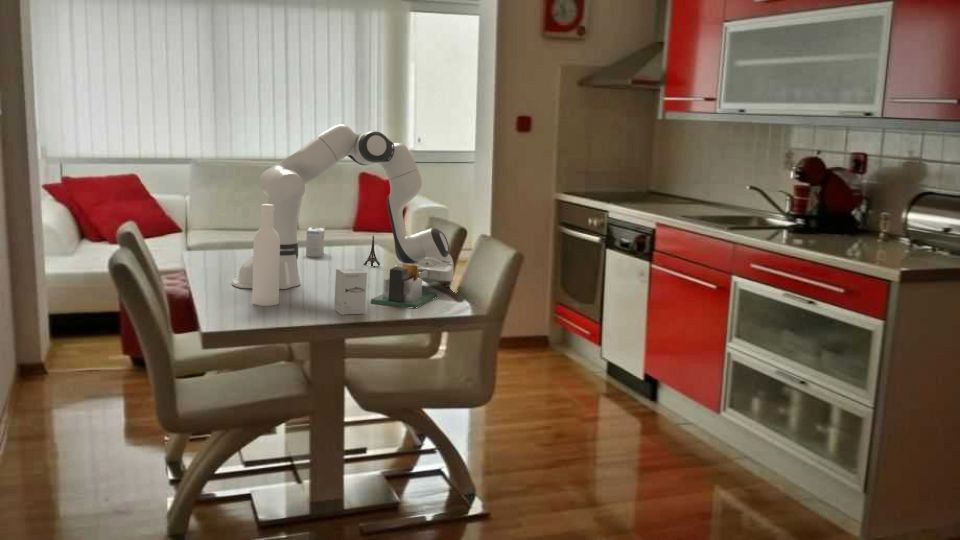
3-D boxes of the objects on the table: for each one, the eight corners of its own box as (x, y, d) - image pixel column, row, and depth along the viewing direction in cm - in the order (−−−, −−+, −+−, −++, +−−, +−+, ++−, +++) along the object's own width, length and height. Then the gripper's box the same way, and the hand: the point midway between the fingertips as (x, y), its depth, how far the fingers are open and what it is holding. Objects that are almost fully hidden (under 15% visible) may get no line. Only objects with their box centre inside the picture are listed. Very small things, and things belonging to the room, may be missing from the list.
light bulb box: (307, 252, 363) (308, 226, 361) (324, 253, 363) (324, 227, 362) (305, 256, 352) (306, 230, 350) (322, 257, 353) (323, 230, 351)
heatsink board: (395, 291, 290) (396, 259, 289) (437, 296, 286) (439, 263, 285) (370, 302, 270) (372, 267, 269) (415, 308, 267) (417, 272, 265)
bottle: (254, 306, 255) (256, 205, 250) (249, 301, 262) (251, 202, 257) (281, 305, 258) (283, 206, 253) (276, 300, 265) (278, 203, 260)
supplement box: (341, 315, 251) (343, 272, 249) (333, 310, 257) (335, 268, 255) (365, 314, 254) (367, 272, 252) (357, 309, 261) (359, 268, 259)
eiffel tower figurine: (386, 270, 333) (387, 236, 331) (359, 269, 332) (361, 235, 330) (386, 264, 348) (387, 231, 346) (360, 263, 347) (362, 230, 344)
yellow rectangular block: (402, 287, 283) (404, 263, 281) (417, 289, 281) (418, 265, 280) (390, 293, 272) (391, 268, 271) (405, 295, 271) (406, 270, 269)
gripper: (402, 257, 301) (387, 263, 288) (457, 263, 295) (445, 269, 282) (401, 275, 302) (386, 281, 289) (456, 281, 296) (444, 288, 283)
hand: (416, 275), depth 285 cm, fingers closed
